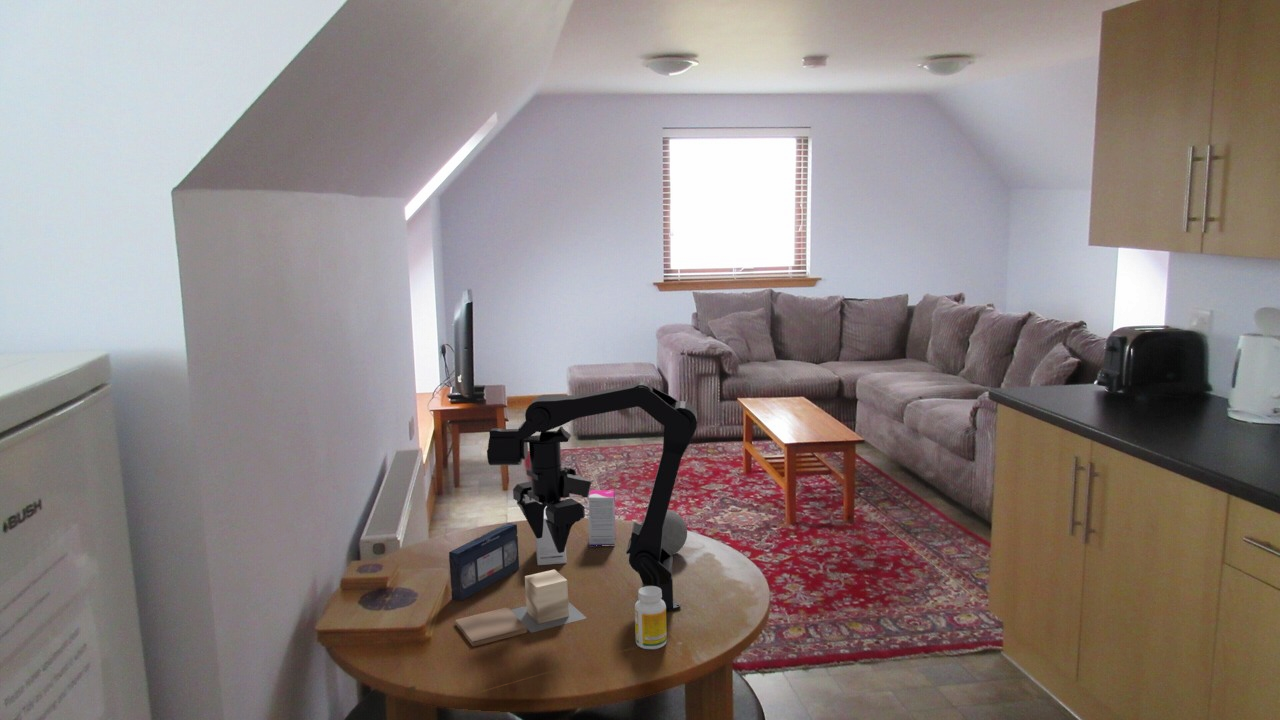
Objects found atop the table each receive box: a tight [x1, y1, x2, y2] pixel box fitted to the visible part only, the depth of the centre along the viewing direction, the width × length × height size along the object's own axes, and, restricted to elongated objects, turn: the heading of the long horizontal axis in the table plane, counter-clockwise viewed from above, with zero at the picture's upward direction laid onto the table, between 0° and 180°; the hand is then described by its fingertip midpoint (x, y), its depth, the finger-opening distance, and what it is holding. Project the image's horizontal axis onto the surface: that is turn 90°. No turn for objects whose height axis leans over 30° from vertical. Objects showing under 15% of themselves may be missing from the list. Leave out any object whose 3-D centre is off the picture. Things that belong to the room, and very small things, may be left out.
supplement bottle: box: [634, 586, 668, 650], centre depth 156 cm, size 5×5×10 cm
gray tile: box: [510, 601, 587, 634], centre depth 169 cm, size 11×11×1 cm
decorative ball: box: [662, 509, 688, 556], centre depth 196 cm, size 10×10×10 cm
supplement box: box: [588, 489, 616, 546], centre depth 204 cm, size 6×6×12 cm
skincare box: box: [534, 506, 567, 566], centre depth 197 cm, size 10×6×10 cm, turn 6°
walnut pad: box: [455, 606, 528, 647], centre depth 164 cm, size 10×10×1 cm
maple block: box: [524, 569, 569, 624], centre depth 168 cm, size 6×6×7 cm
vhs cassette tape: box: [448, 522, 520, 602], centre depth 183 cm, size 18×3×10 cm, turn 148°
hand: (549, 545), depth 170 cm, fingers open, 9 cm apart
